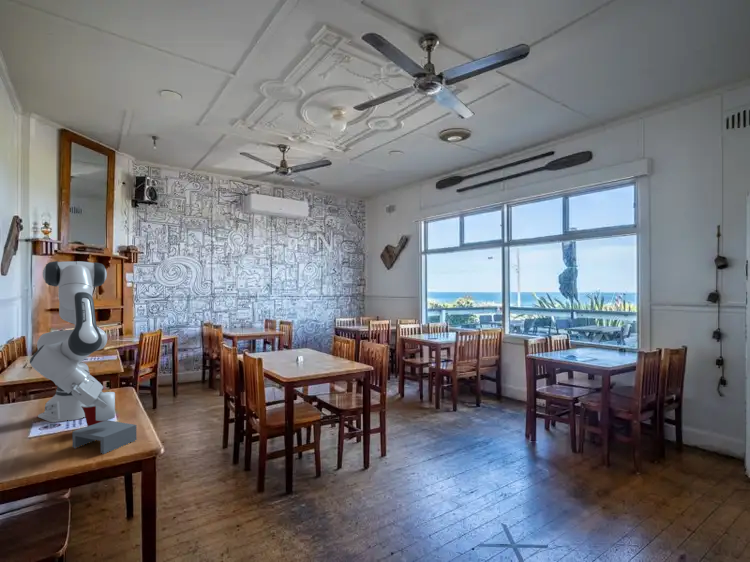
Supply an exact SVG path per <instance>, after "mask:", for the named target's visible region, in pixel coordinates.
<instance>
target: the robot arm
mask: <svg viewBox="0 0 750 562" xmlns="http://www.w3.org/2000/svg"><path fill="white" fill-rule="evenodd" d="M107 275H108V273H107V269H106V266H105V265H104V264H103V263H100V262H90V261H80V260H79V261H78V260H77V261H73V260H72V261H49V262H47V263H46V264H45V266H44V268H43V270H42V278H43V280H44V282H45V284H47V285H48V286H51V287H56V288H57V287H58V295H57V296H58V302H59V305H58V306H59V309H58V310H59V311H58V314H59V315H58V316H59V317H60V319H62V320H63V321H65V322H67V323H70V324H73V325H74V328H73V329H64V330H54V331H53V330H52V331H49V332H46V333H43V334H41V335H40V336H39V338H38V340H37V342H36V348H37V350H36V352H34V354H33V355H32V356H31V357H30V359H29V364H30V366H31V367H32V368H33V369H34V370H35V371H37V373H39V374H40V375H41V376H43V377H44V378H45V379H47V380H50V381H52V382H53V383H54V384H55V387H54V390H56V391H55V394H54V395H53V396H52V397H51V398H50V399H48V401H47V402H45V406H44V412H42V413H39V414H38V415H37V417H38V418H39V419H42V420H45V421H46V422H49V423H58V422H66V421H67V420H68V421H75V420H78V419H80V420H81V419H84V418H85V413H84V410H83V408H82V407H81V404H84V405H86V406H90V405H91V404H92V403H93V404H95V405H97V406H100V407H101V408H103V409H104V408H105V407H106V406H107V403H106V402H103V401H102V400H100V398H98V396H99V394H100V393H104V392H103V389H104V385H102V384H101V382H100V381H98V380H97V378H95V377H94V376H92V375H91V374H90V369H89V366H88V365H87V364H86V363H85V362H83V361H85V359H87V358H88V357H89V356H90V355H92V354H93V353H94V352H96V351H100V350H102V349H104V348H105V346H106V345H107V343H108V334H107V332H105V330H103V329H102V328H100V327H98V326H97V320H96V313H95V312H96V310H95V301H94V299H93V298H94V297H93V289H95V288H96V287H100V286H102V285H104V284H105V281H106V280H107V277H108V276H107ZM83 417H84V418H83ZM68 421H67V422H68Z"/></svg>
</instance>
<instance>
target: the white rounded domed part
mask: <svg viewBox="0 0 750 562" xmlns="http://www.w3.org/2000/svg"><path fill="white" fill-rule="evenodd" d="M98 398H100V400H102V401H103V402H106V403H107V406H106V407H105V408H104V409H103V408H101V407H100V406H97V405H96V420H97V421H105V420H109V421H111V420H113V419H115V417H116V400H115V399H116V393H115V392H114V391H106V392H103V393H100V394H99V396H98Z"/></svg>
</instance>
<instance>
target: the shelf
mask: <svg viewBox="0 0 750 562" xmlns="http://www.w3.org/2000/svg"><path fill="white" fill-rule="evenodd" d="M95 440H97V441H100V454H101V453H102V454H101V455H106V454H108V453H110V452H113V451H114V449H115V450H116V449H117V450H118V449H120V448H122V447H124V446H123V445H125V446H127V445H129V444H128V443H130V442H132V443H134V442H136V441H135V440H137V424H132V423H128V422H127V423H125V422H120V421H115V420H105V421H102V422H99V423H96V424H93V425H90V426H88V425H87V426H85V427H82V428H78V429H75V430H73V431H72V448H73V447H74V448H73V449H77V448H76V447H78V448H80V447H79V446H81V445H83V446H85V445H84V444H86V445H88V444H87V443H89V442H91V443H93V442H92V441H94V442H96V441H95ZM133 441H134V442H133ZM89 444H90V443H89ZM126 444H127V445H126ZM130 444H131V443H130ZM121 446H122V447H121ZM81 447H82V446H81ZM119 447H120V448H119ZM112 450H113V451H112ZM109 451H110V452H109ZM107 452H108V453H107Z"/></svg>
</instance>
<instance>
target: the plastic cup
mask: <svg viewBox="0 0 750 562" xmlns="http://www.w3.org/2000/svg"><path fill="white" fill-rule="evenodd" d="M81 407H82V408H83V410H84V413H85V417H84V418H85V422H86V424H87V426H90V425H93V424H96V423H99V422H102V421H97V420H96V405H95V404H93V403H92V404H91V405H90V406H86V405H84V404H81Z"/></svg>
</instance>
